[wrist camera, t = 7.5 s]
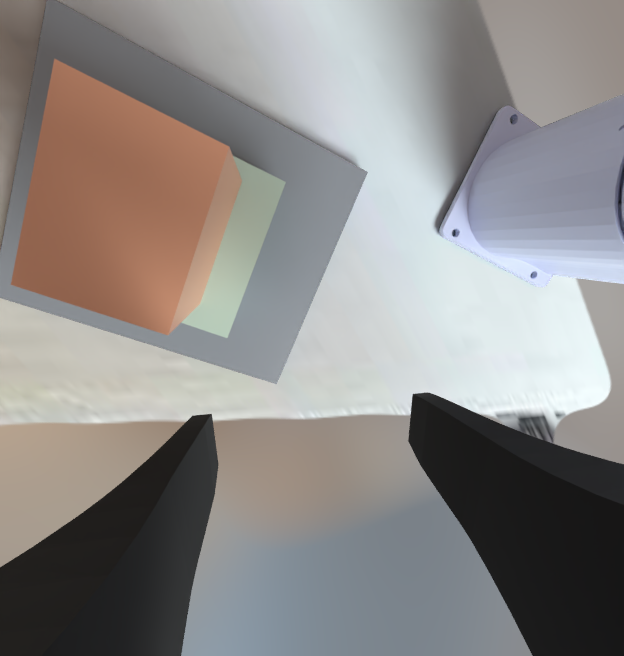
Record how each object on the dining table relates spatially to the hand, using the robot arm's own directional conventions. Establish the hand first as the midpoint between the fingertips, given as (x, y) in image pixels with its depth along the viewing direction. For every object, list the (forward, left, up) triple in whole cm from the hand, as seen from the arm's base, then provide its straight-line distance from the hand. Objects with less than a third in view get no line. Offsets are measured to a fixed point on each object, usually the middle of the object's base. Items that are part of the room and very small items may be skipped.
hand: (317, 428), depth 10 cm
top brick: (+8, -4, -6) cm, 11 cm away
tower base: (+8, -4, -10) cm, 13 cm away
